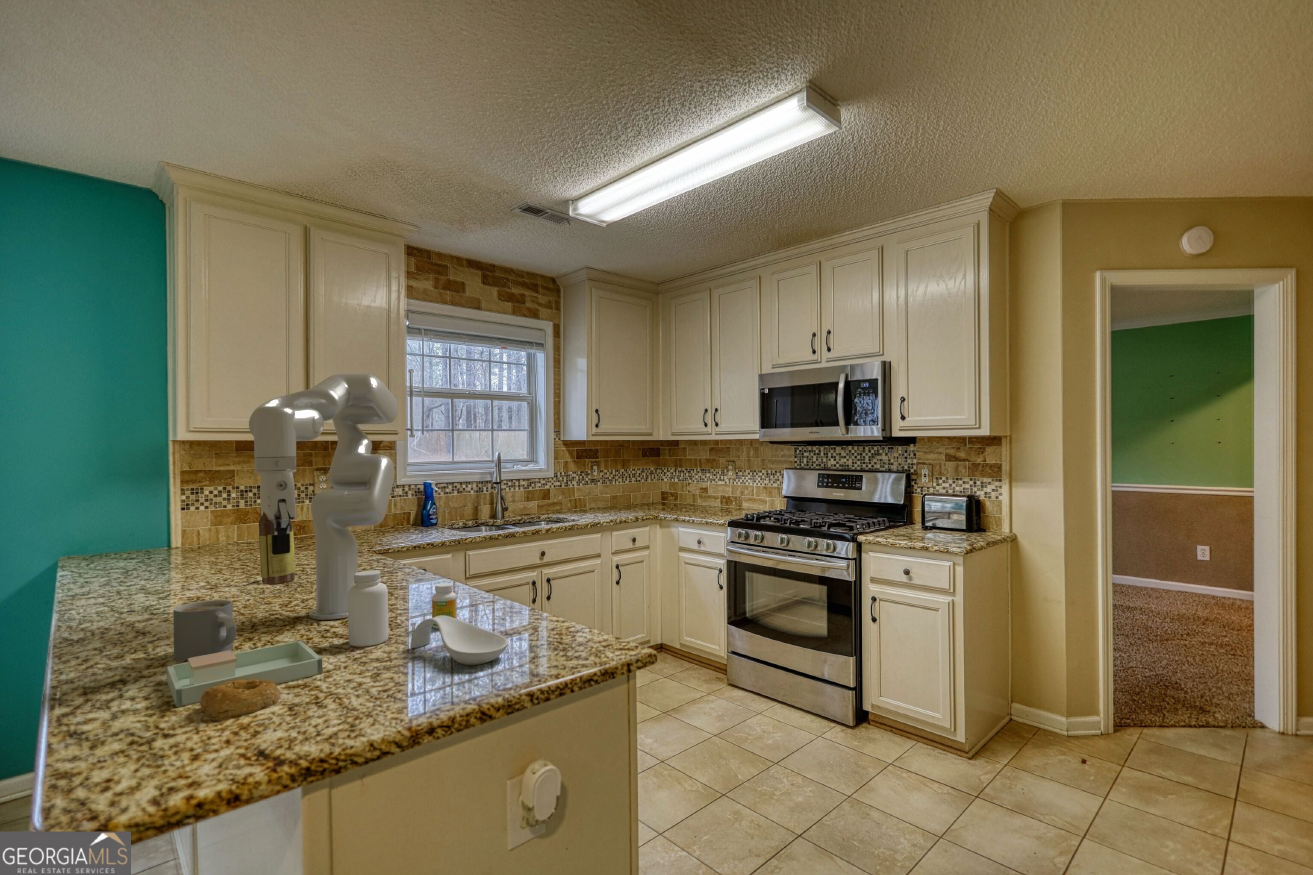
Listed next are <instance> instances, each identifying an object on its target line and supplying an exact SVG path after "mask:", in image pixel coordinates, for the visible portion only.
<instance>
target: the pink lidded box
mask: <svg viewBox="0 0 1313 875" xmlns="http://www.w3.org/2000/svg"><path fill="white" fill-rule="evenodd" d="M233 653H234V652H233V650H232V651H231V650H229V651H223V652H218V653H213V654H208V655H202V656H197V657H192V658H188V660H187V662H188V663H189V684H190V686H191V685H196V684H200V683H205V682H210V681H214V680H219V679H224V678H228V677H233V676H235V662H237V658H236V657H235V655H234V654H233Z"/></svg>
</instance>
